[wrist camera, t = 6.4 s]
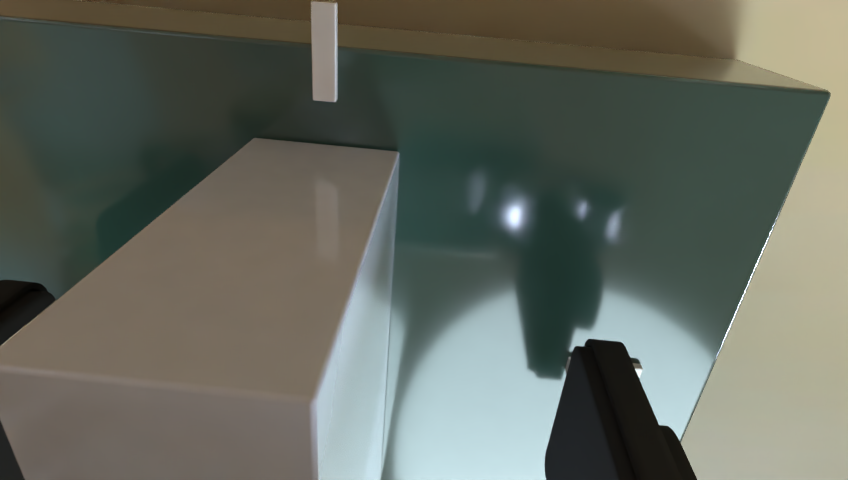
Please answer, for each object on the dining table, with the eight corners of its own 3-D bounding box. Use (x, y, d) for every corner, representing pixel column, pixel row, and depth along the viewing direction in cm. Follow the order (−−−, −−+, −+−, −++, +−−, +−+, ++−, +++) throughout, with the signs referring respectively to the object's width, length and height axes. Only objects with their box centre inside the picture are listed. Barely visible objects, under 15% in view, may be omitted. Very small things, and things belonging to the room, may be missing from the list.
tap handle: (252, 136, 8) (-57, 388, 3) (399, 151, 8) (307, 428, 3) (278, 471, 12) (146, 830, 7) (380, 482, 12) (322, 851, 7)
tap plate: (108, 411, 16) (34, 504, 13) (-17, -42, 10) (-194, -45, 8) (601, 463, 16) (631, 570, 13) (750, 27, 10) (862, 49, 7)
